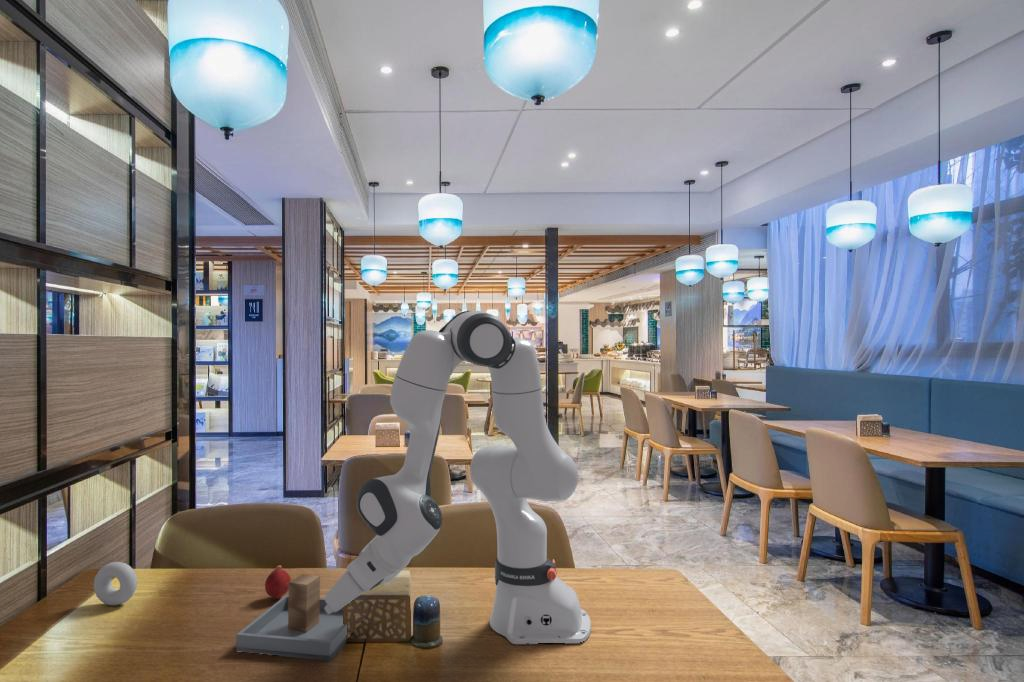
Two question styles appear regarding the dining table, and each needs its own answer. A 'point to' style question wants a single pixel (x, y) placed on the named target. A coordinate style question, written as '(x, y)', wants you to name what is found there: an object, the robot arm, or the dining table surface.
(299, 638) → the tray
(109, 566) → the donut
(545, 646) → the dining table surface
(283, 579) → the onion
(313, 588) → the walnut block
